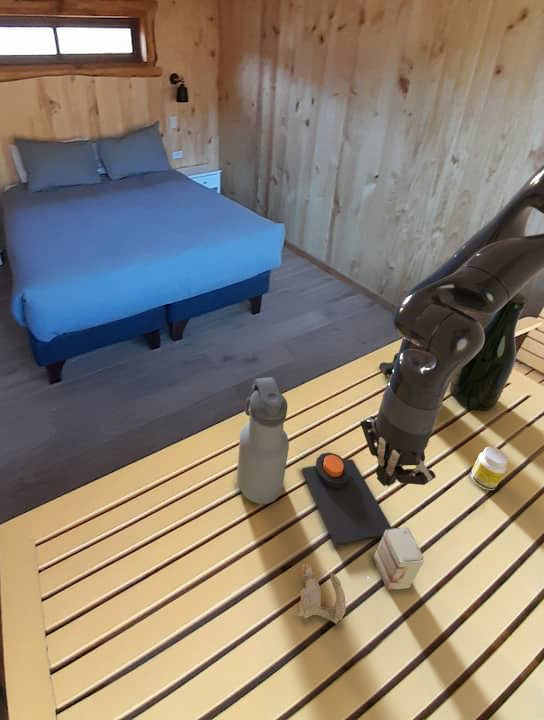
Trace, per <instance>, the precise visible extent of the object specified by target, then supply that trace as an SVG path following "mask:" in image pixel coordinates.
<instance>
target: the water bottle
mask: <svg viewBox="0 0 544 720" xmlns="http://www.w3.org/2000/svg"><path fill="white" fill-rule="evenodd" d="M252 381H253V382H252V391H253V393H252V394H251V395H250V396H248V397H247V398H246V399H245V404H244V405H245V406H244V413H245V415H246V416H249V421H247V422H246V423H245V424H244V425H243V426H242V429H241V431H240V435H239V443H238V456H237V471H236V483H237V486H238V488H239V491H240V492H241V494H242V495H243V496H244V497H245V498H246V499H247V500H249V501H251V502H252V503H255V504H258V505H267V504H271V503H273V502H275V501H276V500H277V499H278V498H279V497H280V495H281V493H282V491H283V486H284V481H285V473H286V467H287V461H288V455H289V450H290V449H289V448H290V442H289V437H288V435H287V432H286V431H285V429H284V425H285V422H286V420H287V414H288V407H289V406H288V401H287V399H286V397H285V396H284V395H283V394H282V393H281V392H280V389H279V387H278V384H277V382H276V379H275V378H274V377H263V378H262V377H261V378H254V379H253V380H252Z"/></svg>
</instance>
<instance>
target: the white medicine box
mask: <svg viewBox="0 0 544 720" xmlns="http://www.w3.org/2000/svg"><path fill="white" fill-rule="evenodd" d="M373 561H374V563H375V565H376V568H377V570H378V573H379V575H380V578H381V580H382V582H383V584H384V586H385V589H386V590H388V591H390V590H391V591H392V590H403V589H410V587H412V584H413V582H414V581H415V579H416V577H417V575H418V573H419V571H420V570H421V568H422V566H423V565H424V563H425V561H426V560H425V556H424V554H423V553H422V550H421V549H420V547H419V544H418V542H417V541H416V539H415V537H414V536H413V533H412V532H411V530H410V529H409V527H407V526H405V527H395V528H393V527H392V529H387V530H385V532H384V535H383V537H382V538H380V541H379V544H378V546H377V549H376V551H375V554H374V556H373Z"/></svg>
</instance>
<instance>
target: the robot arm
mask: <svg viewBox="0 0 544 720" xmlns="http://www.w3.org/2000/svg"><path fill="white" fill-rule="evenodd" d="M533 209H535V210H536V211H538V212H540V213H541V214H543V215H544V164H543V165H541V166H540V167H539V168H538V169H537V170H536V171H535V172H534V173H533V174H532V175H531V176H530V177H529V178H528V180H527V181H525V183H524V184H523V185H522V186H521V187H520V188H519V189H518V190H517V191H516V193H515V194H514V195H513V196H512V197H511V198H510V199H509V201H508V202H506V204H505V205H504V206H503V207H502V208H501V209H500V210H499V211H498V212H497V213H496V214H495V215H494V217H492V218H491V219H490V220H489V221H488V222H487V223H486V224H484V225H483V226H482V227H481V228H480V229H479V230H478V231H476V232H475V233H474V234H473V235H472V236H471V237H470V238H469V239H467V240H466V241H465V242H464V243H463V244H462V245H461V246H460V247H458V249H457V250H456V251H455V252H454V253H453V254H452V256H450V257H449V258H448V259H447V260H446V261H445V262H444V263H442V265H440V266H439V267H438V268H437V269H436V270H435V271H434V272H432V273H431V274H430V275H428V276H427V277H426V278H424V279H422V280H421V281H420V282H418V283H417V284H416V285H414V286H413V287H412V288H411V289H410V290H409V292H408V293H407V295H406V297H405V298H404V299H403V300H402V301H401V302H400V303H399V304H398V306H397V307H396V308H395V311H394V314H393V316H392V317H393V318H392V322H393V327H394V330H395V331H396V332H397V334H399V335H400V336H401V337H402V340H401V343H400V347H399V351H398V352H396V353H395V354H394V356H393V359H392V362H391V361H390V362H386V361H383V362H381V363H379V366H378V369H379V371H380V372H381V373H382V374H383V375H384V376H387V380H388V384H387V386H386V388H385V389H384V392H383V394H382V398H381V403H380V406H379V409H378V413H377V415H376V418H375V417H374V416H373V415H370V416H368V417H366V418H364V419H363V420H361V421H360V425H361V429H362V432H363V435H364V438H365V440H366V444H367V447H368V450H369V453H370V454H371V455H372V456H373V457H376V458H377V460H376V461H377V467H376V470H375V475H376V480H377V481H378V482H379V483H380V484H381V485H382V486H383V487H386V486H387V487H391V486H392V485H393V484H395V483H396V481H397V482H398V483H400V484H407V485H421V486H425V485H427V484H429V482H431V481H432V480H434V479H436V473H435V472H434V471H433V470H432V469H428V468H427V466H426V464H425V460H426V455H425V450H426V448H427V447H428V445H429V441H430V439H431V436H432V434H433V431H434V429H435V427H436V424H437V421H438V419H439V416H440V412H441V407H442V404H443V400H444V397H445V396H446V393H447V390H448V389H449V385H450V382H451V381H452V379H453V378H454V377H455V375H456V374H457V373H458V372H459V371H460V369H461V368H462V367H463V366H465V365H466V364H467V363H468V362H469V361H470V360H471V359H472V358H474V357H475V356H476V355H477V353H478V352H479V351H480V350H481V349H482V347H483V345H484V341H485V334H484V330H483V328H484V327H483V326H482V324H481V323H480V322H479V321H478V320H477V319H476V318H474V317H473V316H471V315H469V314H467V313H471V314H474V315H480V316H490V315H495V313H496V312H497V311H499V310H500V309H501V308H502V307H503V306H504V305H505V304H506V303H507V302H508V301H509V300H510V299H511V298H512V297H513V296H514V295H515V294H516V293H520V291H521V290H522V289H523V288H524V287H525V286H526V285H527V284H528V283H529V282H531V280H532V279H533V278H535V277H536V276H537V275H539V274H540V273H541V272H542V271H544V232H542V233H537V234H532V235H527V225H528V221H529V218H530V215H531V213H532V211H533ZM465 312H467V313H465ZM375 443H376V445H375ZM405 466H415V467H414V468H404V467H405Z"/></svg>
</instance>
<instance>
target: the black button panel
mask: <svg viewBox="0 0 544 720" xmlns="http://www.w3.org/2000/svg"><path fill="white" fill-rule="evenodd" d="M328 455H334V456H337V457H338V458H340V459H341V461H342V462H343V465H344V468H343V472H342V475H341V476H340V477H336V478H335V477H331V476H329V475H328V474H327V473H326V472H325V471H324V468H323V463H324V459H325V457H326V456H328ZM315 460H316V461H315V465H313V466H307V467H302V468H301V474H302V476H303V479H304V481H305V484H306V486H307V488H308V489H309V493H310V494H311V497H312V499H313V501H314V504H315V506H316V508H317V511H318V513H319V515H320V517H321V520H322V522H323V524H324V527H325V529H326V532H327V534H328V536H329V538H330V540H331V542H332V545H333V547H334V548H339V547H342V546H348V545H353V544H357V543H358V544H359V543H363V542H368V541H373V540H376V539H382V537H383V535H384V532H385V530H387V529H393V527H392V525H391V524H390V522H389V521H388V519H387V517H386V515H385V514H384V512H383V509H382V508H381V507H380V505H379V503H378V502H377V500H376V498H375V496H374V494H373V492H372V491H371V490H370V487H369V486H368V484H367V482H366V481H365V478H364V477H363V476H362V475H363V474H362V473H361V472H360V470H359V468H358V467H357V465H356V463H355V461H354V460H353V458H351V459H346V460H345V459H344V458H343V457H341V456H340V455H339V454H336V453H333V452H323V453H321V454H320V455H318V457H317V458H316V459H315Z"/></svg>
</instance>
